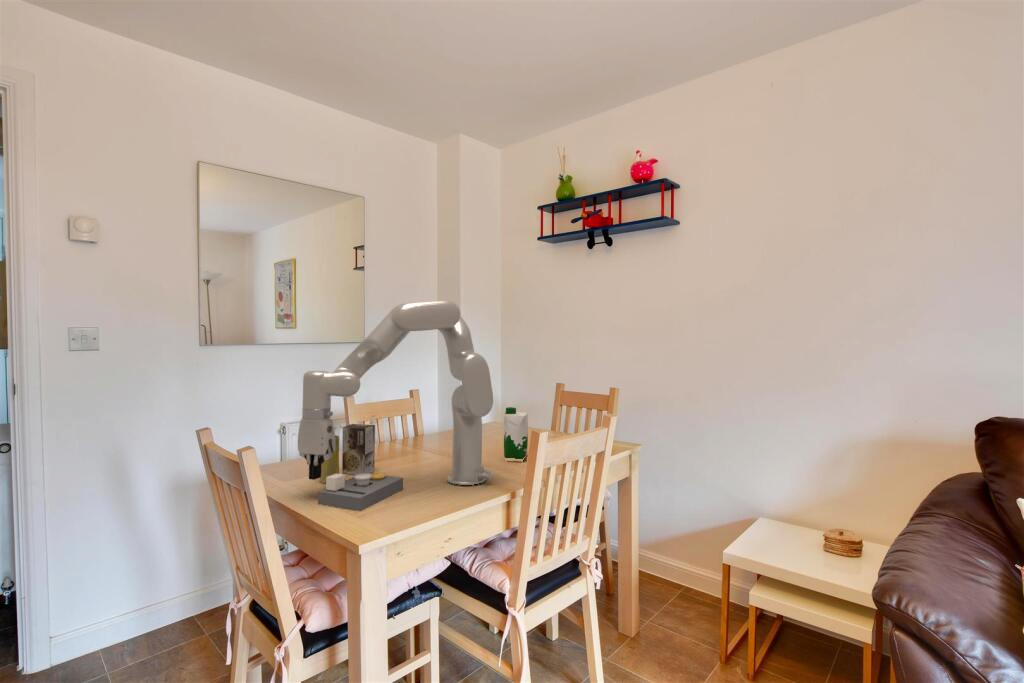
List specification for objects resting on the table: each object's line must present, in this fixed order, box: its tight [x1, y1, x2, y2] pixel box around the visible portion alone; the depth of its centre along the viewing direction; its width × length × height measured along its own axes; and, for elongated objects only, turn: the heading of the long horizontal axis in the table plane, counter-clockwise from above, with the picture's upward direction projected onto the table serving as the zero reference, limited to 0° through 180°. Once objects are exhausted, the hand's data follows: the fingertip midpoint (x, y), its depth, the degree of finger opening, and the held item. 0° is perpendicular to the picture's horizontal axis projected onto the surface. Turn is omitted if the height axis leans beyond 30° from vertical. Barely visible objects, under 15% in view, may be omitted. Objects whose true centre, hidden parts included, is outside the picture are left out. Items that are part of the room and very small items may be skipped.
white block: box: [325, 473, 346, 491], centre depth 140 cm, size 3×4×6 cm
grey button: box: [353, 473, 372, 487], centre depth 145 cm, size 5×5×3 cm
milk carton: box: [503, 406, 529, 459], centre depth 192 cm, size 9×9×20 cm
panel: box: [317, 473, 404, 512], centre depth 145 cm, size 14×21×4 cm, turn 160°
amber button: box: [371, 472, 386, 481], centre depth 152 cm, size 5×5×3 cm
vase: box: [319, 434, 340, 484], centre depth 159 cm, size 6×6×14 cm
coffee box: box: [341, 423, 376, 476], centre depth 170 cm, size 9×6×16 cm
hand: (314, 478), depth 142 cm, fingers closed
